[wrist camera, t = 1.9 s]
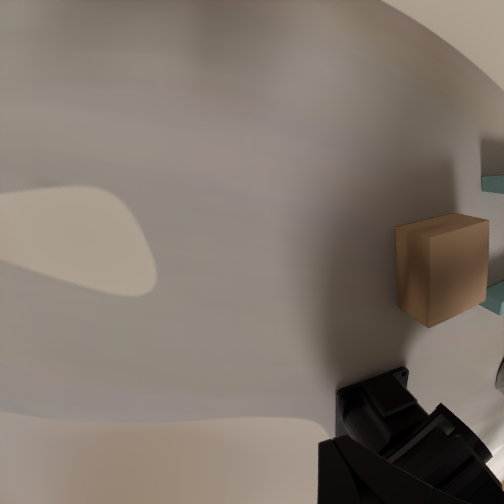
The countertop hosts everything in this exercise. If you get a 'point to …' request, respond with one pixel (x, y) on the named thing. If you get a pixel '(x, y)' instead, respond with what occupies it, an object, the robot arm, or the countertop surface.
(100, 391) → the countertop surface
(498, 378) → the spray can
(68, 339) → the countertop surface
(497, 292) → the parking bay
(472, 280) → the walnut block
